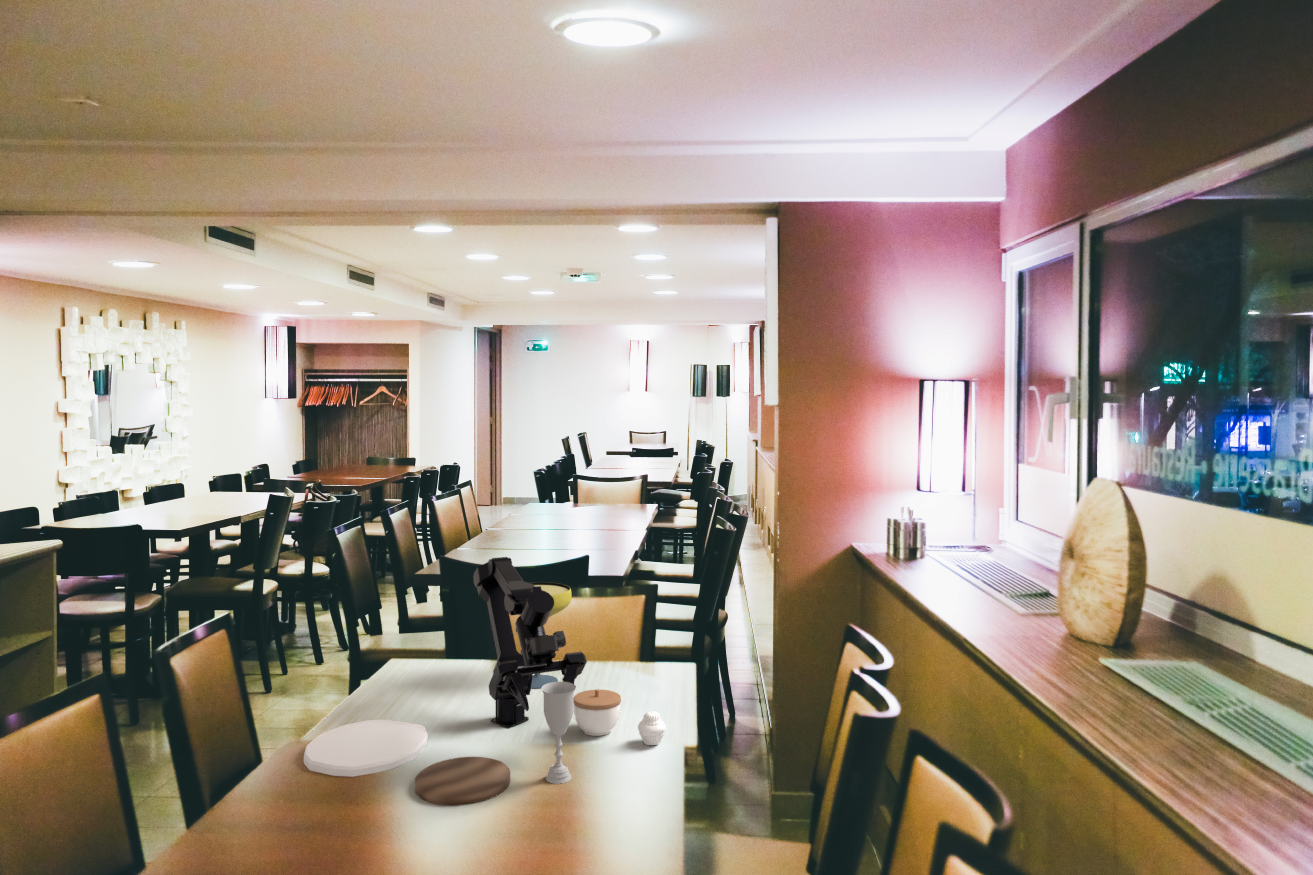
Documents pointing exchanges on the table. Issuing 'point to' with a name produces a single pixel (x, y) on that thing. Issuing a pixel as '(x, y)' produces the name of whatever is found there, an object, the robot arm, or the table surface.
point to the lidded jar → (597, 711)
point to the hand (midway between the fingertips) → (549, 706)
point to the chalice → (558, 723)
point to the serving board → (462, 781)
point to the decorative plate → (365, 747)
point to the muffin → (651, 728)
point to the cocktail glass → (561, 601)
